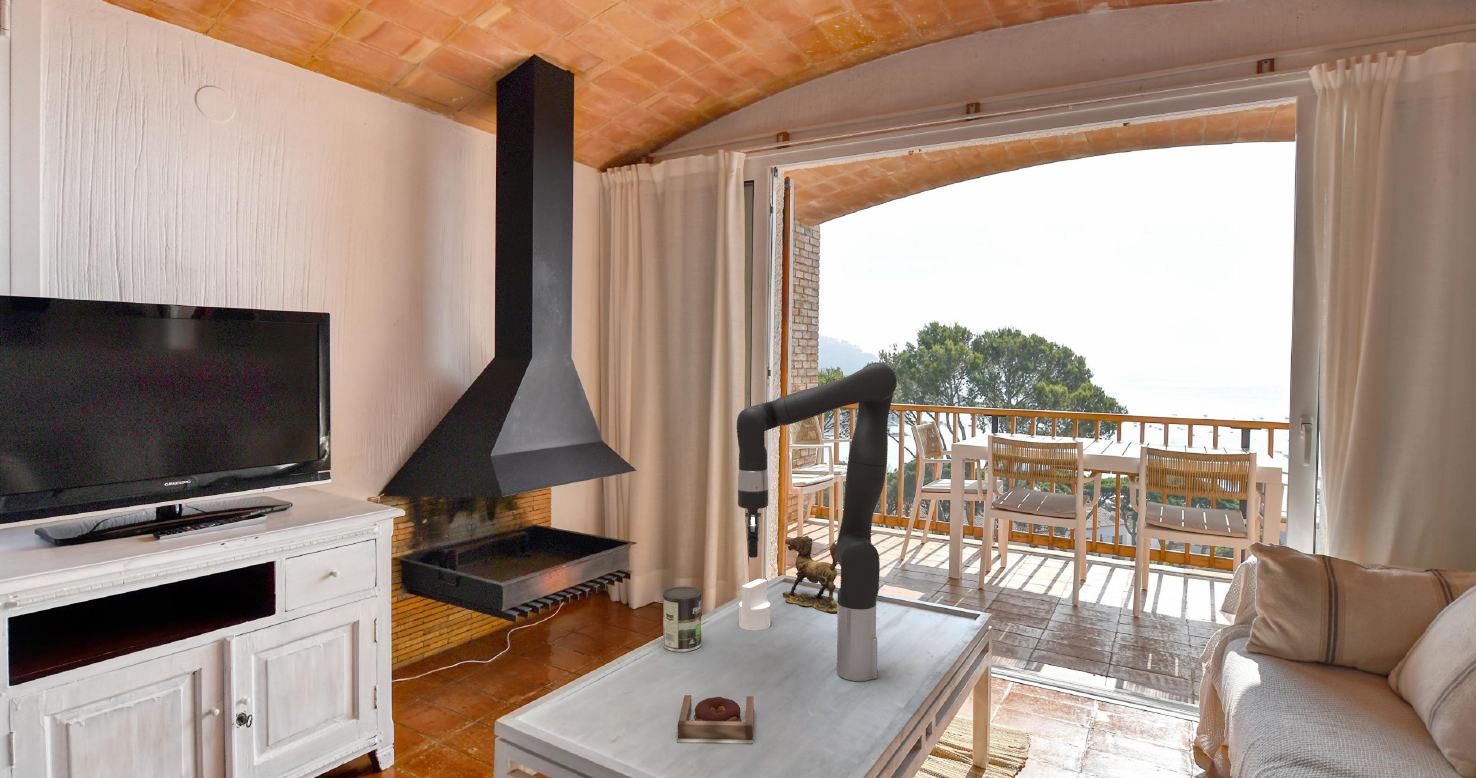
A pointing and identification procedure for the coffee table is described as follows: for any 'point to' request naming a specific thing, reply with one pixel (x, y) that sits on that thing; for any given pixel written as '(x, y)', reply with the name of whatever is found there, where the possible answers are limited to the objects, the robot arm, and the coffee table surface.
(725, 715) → the donut
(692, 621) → the coffee can
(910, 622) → the coffee table surface
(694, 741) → the walnut pocket
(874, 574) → the robot arm
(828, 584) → the figurine
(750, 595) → the base with upright slab
